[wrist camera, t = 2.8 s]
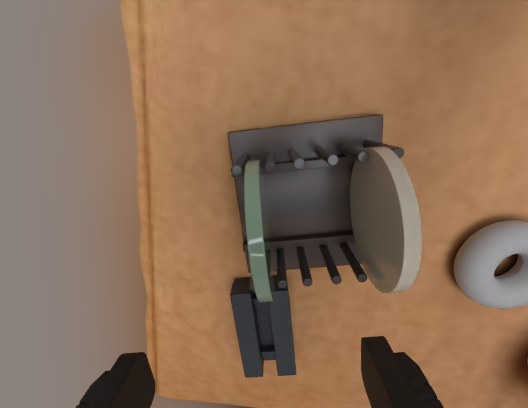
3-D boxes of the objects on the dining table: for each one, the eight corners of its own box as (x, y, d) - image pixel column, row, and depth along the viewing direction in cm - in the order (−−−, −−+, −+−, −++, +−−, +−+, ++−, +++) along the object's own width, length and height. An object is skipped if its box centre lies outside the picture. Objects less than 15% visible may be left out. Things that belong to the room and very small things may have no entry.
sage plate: (251, 152, 24) (236, 178, 14) (262, 150, 24) (255, 176, 14) (264, 255, 28) (260, 339, 17) (274, 254, 28) (275, 338, 17)
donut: (477, 202, 27) (429, 281, 30) (506, 213, 24) (449, 301, 27) (560, 231, 28) (506, 305, 31) (600, 245, 24) (534, 327, 27)
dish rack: (229, 131, 25) (213, 137, 18) (376, 114, 24) (420, 113, 17) (249, 265, 30) (243, 312, 23) (373, 255, 29) (406, 300, 22)
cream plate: (349, 141, 24) (409, 159, 13) (360, 139, 24) (430, 157, 13) (350, 248, 27) (399, 329, 17) (359, 247, 27) (415, 328, 17)
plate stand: (233, 278, 31) (229, 295, 28) (286, 274, 30) (287, 290, 27) (247, 356, 34) (245, 377, 31) (294, 353, 34) (296, 374, 31)
